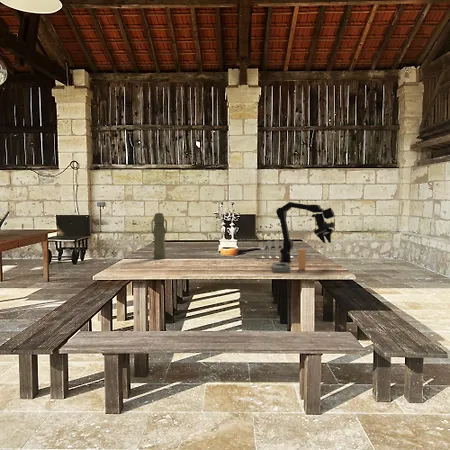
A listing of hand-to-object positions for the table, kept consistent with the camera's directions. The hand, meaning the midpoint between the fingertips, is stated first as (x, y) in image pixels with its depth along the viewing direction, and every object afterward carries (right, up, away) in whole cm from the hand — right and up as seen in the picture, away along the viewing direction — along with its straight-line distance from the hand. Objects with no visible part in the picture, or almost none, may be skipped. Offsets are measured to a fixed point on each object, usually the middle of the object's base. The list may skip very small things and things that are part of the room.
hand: (327, 242), depth 276 cm
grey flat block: (-34, -17, -16) cm, 41 cm away
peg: (-20, -16, -15) cm, 30 cm away
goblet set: (-30, -13, +39) cm, 51 cm away
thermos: (-121, -14, +34) cm, 126 cm away
